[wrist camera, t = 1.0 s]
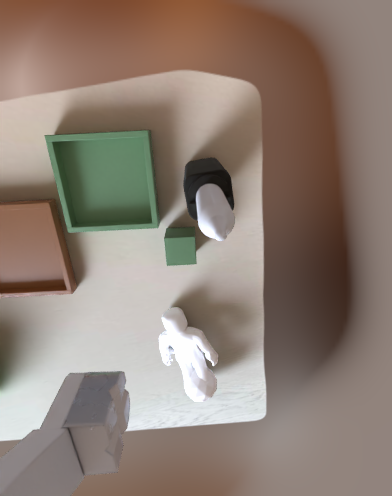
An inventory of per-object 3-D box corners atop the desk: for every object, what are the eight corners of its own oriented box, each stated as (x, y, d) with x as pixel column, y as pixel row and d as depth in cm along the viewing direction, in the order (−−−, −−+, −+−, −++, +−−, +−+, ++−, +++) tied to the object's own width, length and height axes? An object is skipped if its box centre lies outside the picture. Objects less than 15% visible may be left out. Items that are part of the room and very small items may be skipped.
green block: (166, 228, 45) (164, 238, 41) (194, 226, 45) (195, 236, 41) (168, 253, 47) (166, 265, 43) (195, 252, 47) (196, 264, 43)
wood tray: (-41, 204, 43) (-52, 207, 41) (55, 199, 43) (49, 202, 41) (-7, 291, 49) (-15, 298, 47) (77, 287, 49) (72, 294, 47)
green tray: (53, 134, 39) (44, 135, 37) (150, 129, 39) (147, 130, 37) (74, 227, 44) (67, 232, 42) (159, 222, 45) (158, 228, 42)
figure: (236, 382, 56) (205, 297, 49) (229, 412, 50) (194, 321, 44) (185, 381, 60) (152, 303, 54) (174, 408, 55) (135, 325, 48)
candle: (183, 162, 41) (176, 207, 18) (218, 156, 41) (255, 193, 18) (189, 196, 43) (190, 276, 20) (222, 190, 43) (262, 264, 20)
